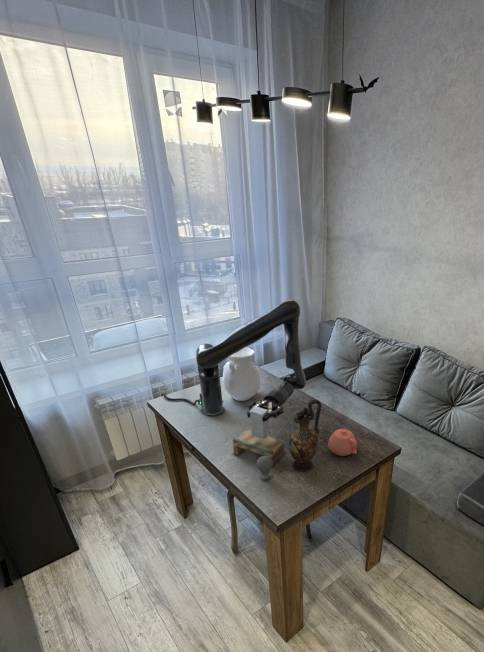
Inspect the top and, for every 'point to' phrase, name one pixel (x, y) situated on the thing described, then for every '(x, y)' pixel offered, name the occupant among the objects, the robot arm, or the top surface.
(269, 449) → the wooden step stool
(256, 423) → the cosmetic box
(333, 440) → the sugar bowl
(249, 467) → the top surface
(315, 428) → the vase
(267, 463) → the light bulb
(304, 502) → the top surface
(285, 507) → the top surface
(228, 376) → the pitcher
